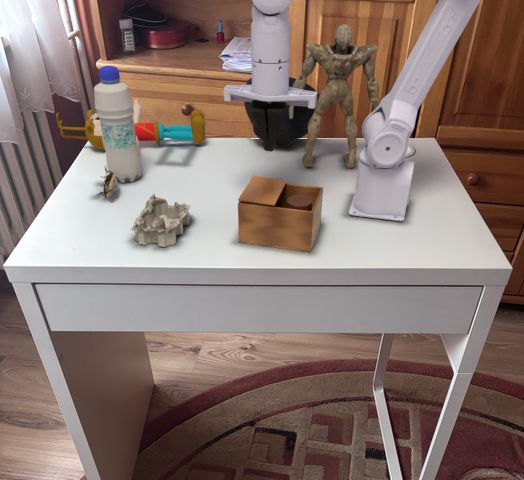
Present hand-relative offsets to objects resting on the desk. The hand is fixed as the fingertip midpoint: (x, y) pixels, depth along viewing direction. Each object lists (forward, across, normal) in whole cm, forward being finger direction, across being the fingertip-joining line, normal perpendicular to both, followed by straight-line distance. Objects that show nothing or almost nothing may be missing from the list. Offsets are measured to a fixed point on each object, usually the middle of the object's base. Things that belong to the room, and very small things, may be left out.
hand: (269, 148), depth 91 cm
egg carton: (+11, +15, +13) cm, 22 cm away
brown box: (+10, -4, +9) cm, 14 cm away
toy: (+8, +20, -25) cm, 33 cm away
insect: (+8, +31, +3) cm, 32 cm away
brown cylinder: (+10, -7, +9) cm, 15 cm away
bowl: (+8, +5, -24) cm, 26 cm away
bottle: (+11, +30, -5) cm, 32 cm away
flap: (+3, -1, +9) cm, 10 cm away
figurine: (+10, -7, -22) cm, 25 cm away
